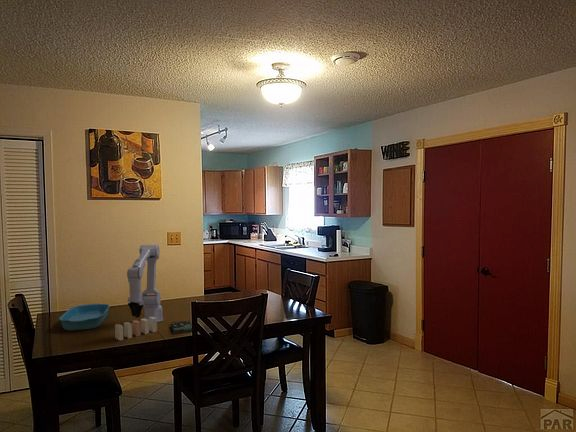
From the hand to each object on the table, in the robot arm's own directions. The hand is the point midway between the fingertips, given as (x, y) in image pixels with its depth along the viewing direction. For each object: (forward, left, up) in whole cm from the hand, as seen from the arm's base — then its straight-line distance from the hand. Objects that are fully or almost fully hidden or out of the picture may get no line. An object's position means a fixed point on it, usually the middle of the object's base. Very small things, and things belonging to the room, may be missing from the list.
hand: (136, 316), depth 214 cm
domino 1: (+9, 0, -9) cm, 13 cm away
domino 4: (-4, 0, -9) cm, 10 cm away
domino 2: (+4, 0, -10) cm, 11 cm away
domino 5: (-9, 0, -9) cm, 13 cm away
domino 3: (0, 0, -9) cm, 9 cm away
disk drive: (-21, +9, -10) cm, 25 cm away
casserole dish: (+10, -43, -10) cm, 45 cm away
